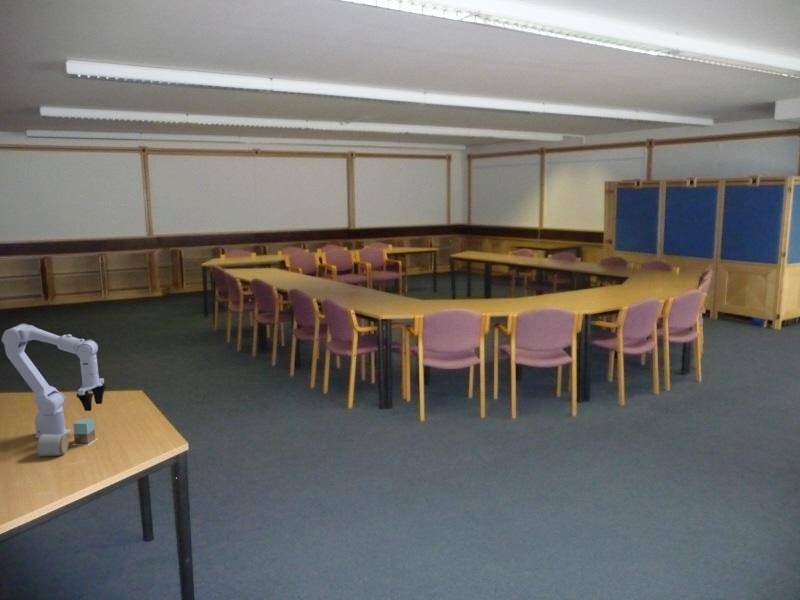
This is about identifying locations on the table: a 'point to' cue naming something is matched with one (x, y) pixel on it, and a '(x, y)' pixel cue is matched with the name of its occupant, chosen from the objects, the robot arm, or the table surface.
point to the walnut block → (84, 438)
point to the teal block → (84, 426)
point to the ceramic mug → (52, 445)
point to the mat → (86, 444)
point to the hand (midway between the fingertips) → (93, 407)
